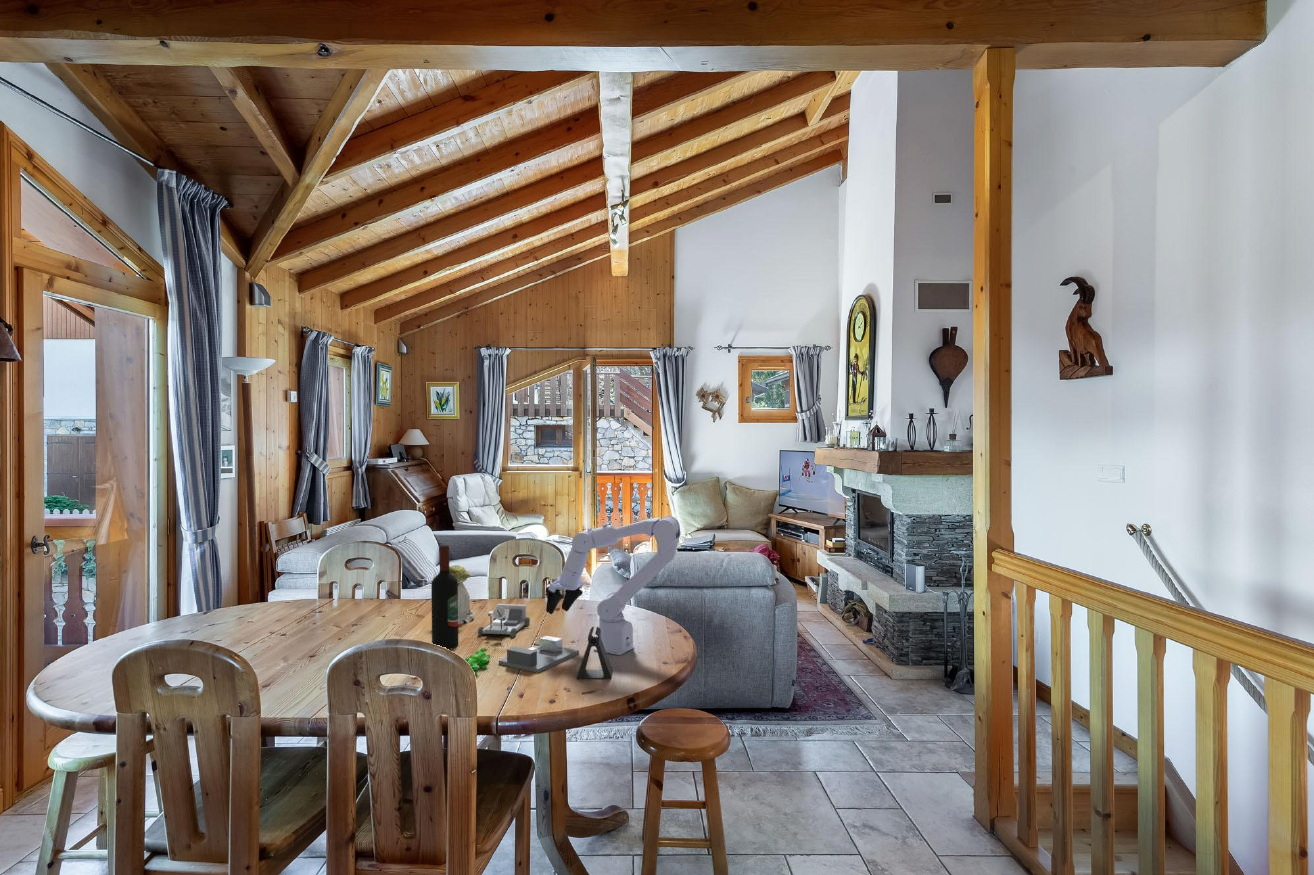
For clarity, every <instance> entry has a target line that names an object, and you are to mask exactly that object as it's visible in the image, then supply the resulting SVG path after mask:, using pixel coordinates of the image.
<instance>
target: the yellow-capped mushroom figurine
mask: <svg viewBox="0 0 1314 875" xmlns="http://www.w3.org/2000/svg"><path fill="white" fill-rule="evenodd" d="M449 570H450V573H451V574H452V575H454V576H455V577H456V579H457V580H458V626H459V625H461V624H462V625H463V624H464V622H466V623H470V622H471V621H472V620H473V617H474V615H475V614H476V613H475V612H473V611H471V605H470V604H471V602H470V593H469V591H468V589H467V588H466V586H465V584H464V583H465V582H466V581H467V580H468V579H469V578H470V576H471V574H470V573H469V571H467V570H466V569H465V567H464V566H462V565H450V566H449Z"/></svg>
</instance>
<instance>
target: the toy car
mask: <svg viewBox="0 0 1314 875" xmlns="http://www.w3.org/2000/svg"><path fill="white" fill-rule="evenodd" d="M495 607H496V608H495V609H494V610H493V611H492V610H491V611H489V612H487V616H488V617H490V618H489V620H490V624H488V625H487V626H486V627H484V626H479V627H478V630H477V635H478V637H481V636H483V635H485V634H486V635H490V634H492V635H508V636H510V637H511V638H515V637H516V636H517V631H518V630H521V628H522V627H528V626H529V625H530V620H531V619H530V617H528V616H527V604H510V603H509V604H508V603H497V604H496V606H495ZM492 617H493V620H492Z"/></svg>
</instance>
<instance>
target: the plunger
mask: <svg viewBox="0 0 1314 875" xmlns="http://www.w3.org/2000/svg"><path fill="white" fill-rule="evenodd" d="M538 639H539V640H538V641H539V643H533V646H534V645H535V646H539V649H540V650H545V651H550V652H555V653H556V652H558V651H561V650H563V648H562V647H563V638H561V637H557V636H556V637H555V636H551V635H544V636H541V637H540V638H538Z"/></svg>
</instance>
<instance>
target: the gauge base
mask: <svg viewBox="0 0 1314 875" xmlns="http://www.w3.org/2000/svg"><path fill="white" fill-rule="evenodd" d="M562 648H563V650H561V651H558V652H556V653H555V652H550V651H545V650H540V649H539V646H535V645H534V644H533V646H529V647H527V648H523V647H519V646H515V645H514V646H513V647H512V646H511V647H509V648H507V649H506V657H503V658H501V659H499V660H498V665H501V666H506V667H510V668H515V669H519V670H524V671H528V672H529V671H530V672H533V673H537V674H538V673H541V672H543V671H546V670H548V669H549V668H551V667H554V666H556V665H559V664H560V663H562V662H563V661H567V660H568V659H570V658H572V657H575V656H577V655H579V654H580V650H579V649H575V648H570V647H564V646H562Z"/></svg>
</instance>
